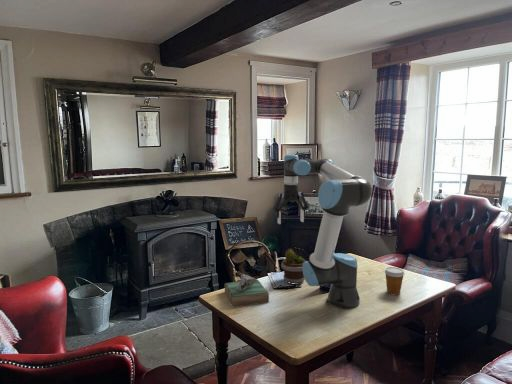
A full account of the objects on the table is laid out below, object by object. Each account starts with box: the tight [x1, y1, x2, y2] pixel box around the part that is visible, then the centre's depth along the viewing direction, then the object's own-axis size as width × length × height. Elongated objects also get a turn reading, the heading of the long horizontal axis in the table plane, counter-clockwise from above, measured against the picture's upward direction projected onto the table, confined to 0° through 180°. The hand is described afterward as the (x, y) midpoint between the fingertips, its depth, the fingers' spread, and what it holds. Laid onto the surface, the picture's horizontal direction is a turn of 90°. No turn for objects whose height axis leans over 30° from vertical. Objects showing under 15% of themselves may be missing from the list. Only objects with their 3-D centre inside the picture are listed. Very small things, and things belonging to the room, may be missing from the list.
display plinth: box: [224, 279, 270, 308], centre depth 189 cm, size 18×18×5 cm
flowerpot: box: [280, 248, 307, 285], centre depth 208 cm, size 14×15×20 cm
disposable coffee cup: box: [384, 266, 405, 296], centre depth 194 cm, size 10×10×12 cm
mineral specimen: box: [236, 273, 258, 291], centre depth 187 cm, size 10×8×10 cm
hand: (290, 222), depth 206 cm, fingers open, 13 cm apart
